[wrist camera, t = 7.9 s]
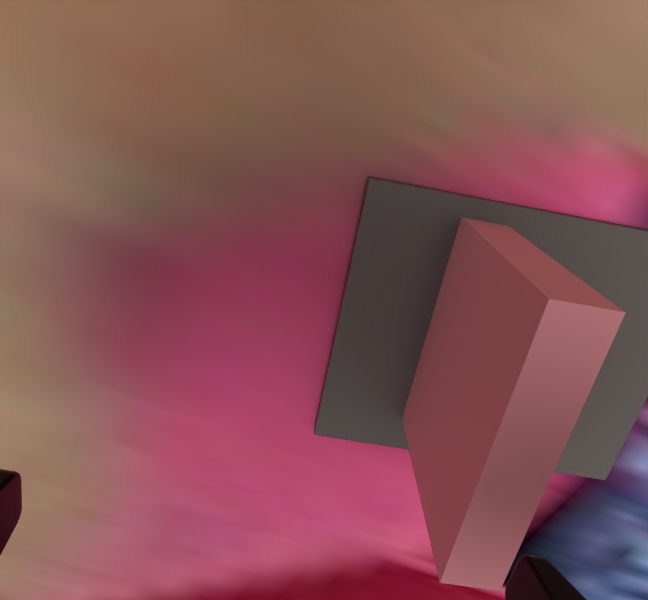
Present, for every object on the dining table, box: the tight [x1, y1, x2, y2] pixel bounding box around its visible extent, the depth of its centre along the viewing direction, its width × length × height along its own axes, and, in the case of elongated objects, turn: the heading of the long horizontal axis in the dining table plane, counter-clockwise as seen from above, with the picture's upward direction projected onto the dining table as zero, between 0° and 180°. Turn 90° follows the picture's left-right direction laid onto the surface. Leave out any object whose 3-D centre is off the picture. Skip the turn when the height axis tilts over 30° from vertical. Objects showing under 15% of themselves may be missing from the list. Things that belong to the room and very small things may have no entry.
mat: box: [314, 177, 648, 480], centre depth 18 cm, size 10×12×1 cm
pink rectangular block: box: [402, 217, 626, 591], centre depth 15 cm, size 8×2×7 cm, turn 169°
